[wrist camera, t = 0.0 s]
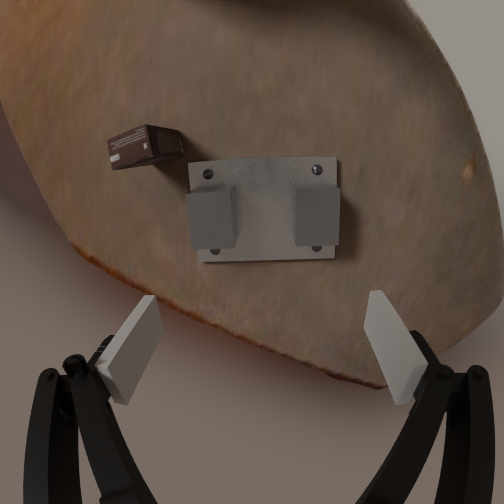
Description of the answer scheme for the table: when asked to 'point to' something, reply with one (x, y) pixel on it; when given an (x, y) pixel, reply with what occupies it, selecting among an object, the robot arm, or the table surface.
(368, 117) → the table surface
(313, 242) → the wall mount bracket
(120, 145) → the box
